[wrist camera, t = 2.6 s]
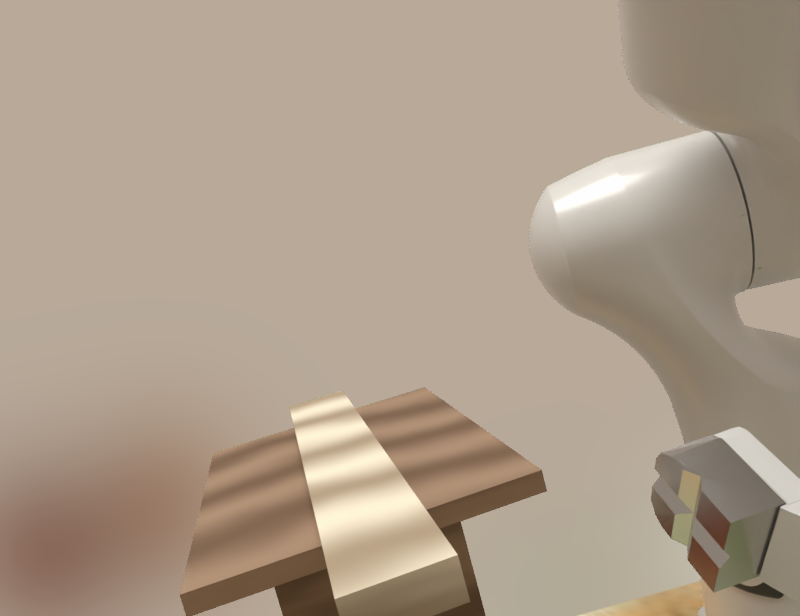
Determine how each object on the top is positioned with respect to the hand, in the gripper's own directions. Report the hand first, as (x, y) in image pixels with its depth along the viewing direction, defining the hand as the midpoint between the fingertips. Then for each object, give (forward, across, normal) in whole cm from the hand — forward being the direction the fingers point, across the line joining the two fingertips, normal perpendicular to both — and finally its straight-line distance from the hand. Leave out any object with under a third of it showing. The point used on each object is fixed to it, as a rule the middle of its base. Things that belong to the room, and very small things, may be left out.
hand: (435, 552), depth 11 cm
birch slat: (+18, 0, +18) cm, 26 cm away
